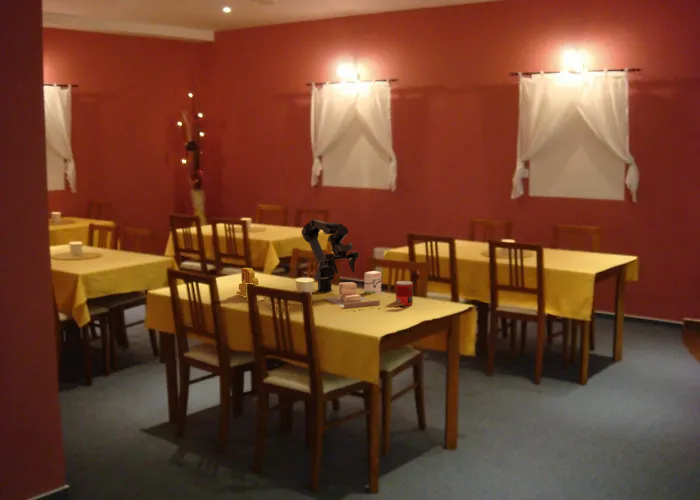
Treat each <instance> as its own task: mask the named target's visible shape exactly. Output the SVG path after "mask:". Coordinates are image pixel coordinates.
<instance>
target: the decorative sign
mask: <svg viewBox="0 0 700 500" xmlns="http://www.w3.org/2000/svg"><path fill="white" fill-rule="evenodd" d="M240 274H241V277H240V278H241V283H239V284H238V290H237V291H236V295H237V294H239V295H243V296H246V283H253V284H255V285H259V279H258V277H255V276H256V272H255V271H254V269H253V268H251V267H242V268H241V269H240ZM259 286H260V285H259ZM259 297H260V296H259Z"/></svg>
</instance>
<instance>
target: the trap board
mask: <svg viewBox="0 0 700 500" xmlns="http://www.w3.org/2000/svg"><path fill="white" fill-rule="evenodd" d="M324 299H325V300H327V301H329V302H331V303H333V304H335V305H337V306H339V305H344V303H346V302H344V301H342V300H340V299H339V298H337V296H333V297H325V298H324ZM363 301H371V300H370V299H368V298H365V297H364V296H361V302H363Z"/></svg>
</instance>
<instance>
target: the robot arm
mask: <svg viewBox="0 0 700 500" xmlns="http://www.w3.org/2000/svg"><path fill="white" fill-rule="evenodd" d="M321 230H322V233H324V234H325V235H329V236H328V238H327V242H329V244H330V247H331V249H330V251H331V253H325V254H324V251H323V249H322V247H321V244H320V241H319V235H320V234H319V233H320V232H321ZM348 233H349V229H348V228H347V227H346V226H345V225H343V223H338V222H327V221H324V220H320V219H319V218H316V219H312V218H311V219H310V220H309V222H308V223H306V224H305V225H304V226H303V227H302V229H301V236H302V237H303V239H304V241H305V242H306V243H308V244H309V246H310V249H311V250H312V253H313V255H314V258H315V260H316V263H317V267H316V272H315V275H314V279H315V280H316V281H317V289H316V290H315V291H316V292H320V293H328V292H333V288H332V280H334V278H335V274H336V275H338V274H339V272H338V267H337V264H336V261H337V260H346V259H347V261H348V266H349V268H350V270H351V272H352V273H355V263H356V260H358V259H359V257H360V253H359V252H358V251H351V250H353V248H354V247H353V243H352V242H348V243H346V244H345V243H343V240H344V238H346V236H347V235H348ZM348 252H350V253H349V254H348Z"/></svg>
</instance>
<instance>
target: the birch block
mask: <svg viewBox="0 0 700 500" xmlns="http://www.w3.org/2000/svg"><path fill="white" fill-rule="evenodd" d="M338 285H339V286H338V288H339V289H338V292H339V293H338V299H340V300H342V301H344V302H346V303H354V302H361V301H362V300H361V297H362V296H361V295H360V294H358V293H357V283H355V282H353V281H350V282H346V281H345V282H339V283H338Z"/></svg>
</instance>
